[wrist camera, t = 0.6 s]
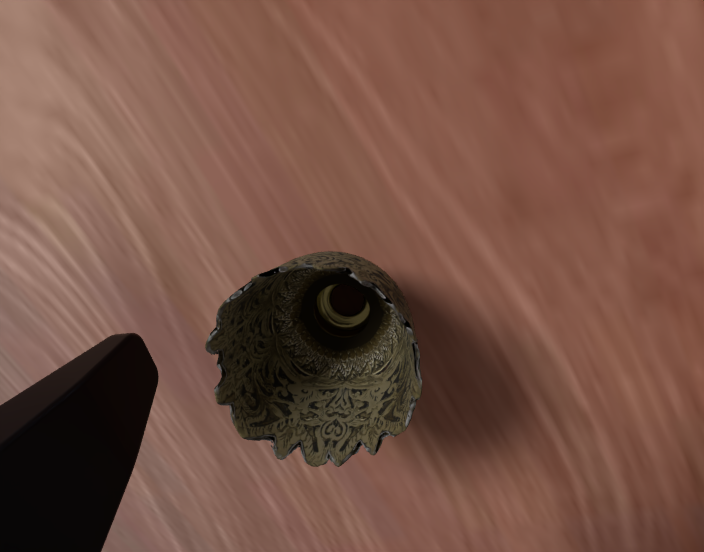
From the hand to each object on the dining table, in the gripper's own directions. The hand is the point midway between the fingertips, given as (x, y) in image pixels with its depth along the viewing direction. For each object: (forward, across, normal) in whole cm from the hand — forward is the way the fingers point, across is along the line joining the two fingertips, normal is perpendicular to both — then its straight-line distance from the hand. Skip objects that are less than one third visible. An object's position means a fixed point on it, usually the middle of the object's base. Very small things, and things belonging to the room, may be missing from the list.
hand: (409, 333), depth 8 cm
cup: (+14, +4, +9) cm, 17 cm away
